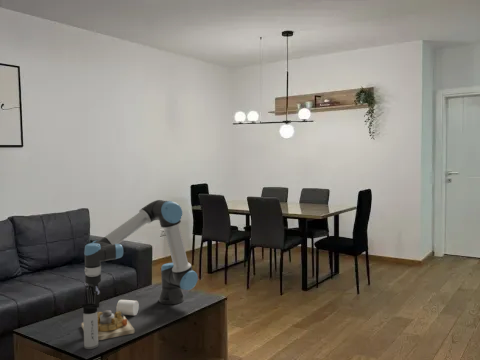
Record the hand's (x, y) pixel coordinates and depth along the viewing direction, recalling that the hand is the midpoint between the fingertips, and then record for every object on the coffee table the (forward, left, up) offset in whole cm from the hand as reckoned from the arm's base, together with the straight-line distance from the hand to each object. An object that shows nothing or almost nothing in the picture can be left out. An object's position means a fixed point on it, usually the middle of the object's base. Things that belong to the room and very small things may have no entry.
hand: (94, 320), depth 221 cm
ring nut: (-8, 0, -4) cm, 9 cm away
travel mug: (+4, +15, -7) cm, 17 cm away
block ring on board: (-7, -1, -6) cm, 9 cm away
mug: (-23, -19, -7) cm, 30 cm away
